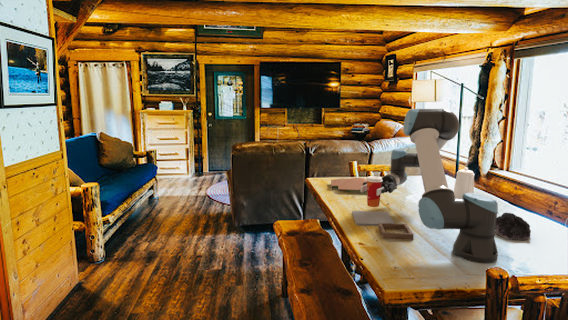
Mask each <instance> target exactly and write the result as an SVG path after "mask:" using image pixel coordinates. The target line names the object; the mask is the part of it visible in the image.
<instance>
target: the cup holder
mask: <svg viewBox="0 0 568 320" xmlns="http://www.w3.org/2000/svg"><path fill="white" fill-rule="evenodd" d="M377 227H378V230H379V233H380V235H381V237H382V239H383V240H398V241H399V240H400V241H401V240H402V241H404V240H405V241H413V240H414V232H413V231H412V229H410V227H409V225H408V223H396V222H394V223H379V225H378V226H377ZM386 230H392V231H393V230H394V231H395V230H396V231H398V230H399V231H404V232H387V231H386Z"/></svg>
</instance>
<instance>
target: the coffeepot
mask: <svg viewBox="0 0 568 320" xmlns="http://www.w3.org/2000/svg"><path fill="white" fill-rule="evenodd" d="M475 174H476V173H474V171H473V170H472V169H471V170H470V169H469V167H467V166H466V167H463V169H459V170H458V171H457V172H456V178H455V183H454V187H453V192H454V195H455V198H463V197H462V196H463V194H464V193H474V194H475Z"/></svg>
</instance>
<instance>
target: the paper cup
mask: <svg viewBox="0 0 568 320" xmlns="http://www.w3.org/2000/svg"><path fill="white" fill-rule="evenodd" d="M365 179H366V180H367V190H366V202H367V206H368V207H369V208H370V207H371V208H379V207H380V202H381V201H380V200H381V194H380V195H377V189H379V188H381V185H382V181H383V180H382V177H381V176H377V175H376V176H375V175H372V176H371V175H370V176H367V177H366V178H365Z"/></svg>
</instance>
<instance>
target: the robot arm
mask: <svg viewBox="0 0 568 320" xmlns="http://www.w3.org/2000/svg"><path fill="white" fill-rule="evenodd" d="M459 130H460V121H459V119H458V117H457V115H456V114H455V113H454V112H453V111H451V110H449V109H446V108H410V109H409V110H408V111H407V112H406V114H405V117H404V121H403V134H404V136H406V137H409V139H410V141H411V142H412V143H413V144H415V150H416V153H414V152H410V153H408V152H407V150H406V149H401V148H396V149H393V150H391V157H390V172H389V174H386V175H384V176H382V177H381V178H382V180H383V181H382V185H381V188H379V189H377V195H380V196H381V195H382V194H384V193H389V194H391V193H393V192H394V191H395V190H397V189H398V187H399V186H400V185H403V184H404V183H405V182H406V181H407V179H408V175H407V172H406V168H419V170H420V175H421V180H422V185H423V189H424V192H423V193H422V194H421V198H420V199H419V200H418V204H417V205H418V215H419V218H420V220H421V222H422V224H423V225H424V226H425V227H426V228H428V229H433V230H459V233H458V234H457V237H456V239H455V241H454V243H453V245H452V252H453V253H454V255H456V256H457V257H459V258H461V259H463V260H466V261H469V262H472V263H477V264H478V263H479V264H492V263H495V262H496V261H498V258H499V252H498V248H497V245H496V241H495V234H496V232H495V227H496V219H497V217H498V214H499V208H498V207H499V206H498V202H497V200H495V199H493V198H492V197H489V196H486V195H483V194H478V193H475V192H474V193H464V194H463V196H462V197H463V198H455V195H454V189H451V188H449V185H448V181H447V177H446V174H445V170H444V169H445V168H444V165H443V161H442V157H441V153H440V151H441V149H443V147H444V146H445V145H446V143H448V142H449V141H451V140H453V139H454V138H455V137H456V136H457V134H458V133H459ZM364 191H365V192H367V182H364V183H363V186H361V190H360V193H364Z"/></svg>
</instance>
